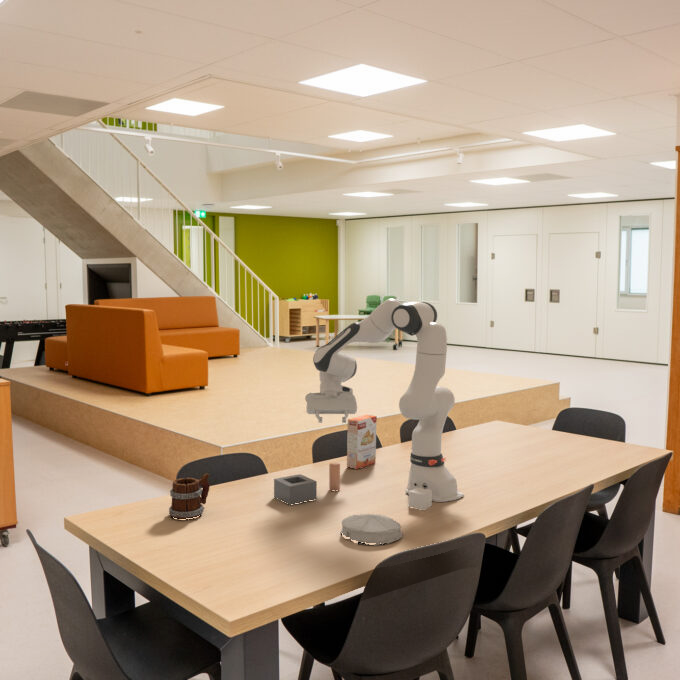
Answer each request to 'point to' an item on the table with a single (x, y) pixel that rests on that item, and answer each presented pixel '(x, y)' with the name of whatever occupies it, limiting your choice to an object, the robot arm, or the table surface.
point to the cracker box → (361, 441)
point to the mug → (188, 497)
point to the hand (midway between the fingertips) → (332, 421)
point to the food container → (371, 528)
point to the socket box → (295, 489)
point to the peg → (334, 476)
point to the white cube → (420, 498)
